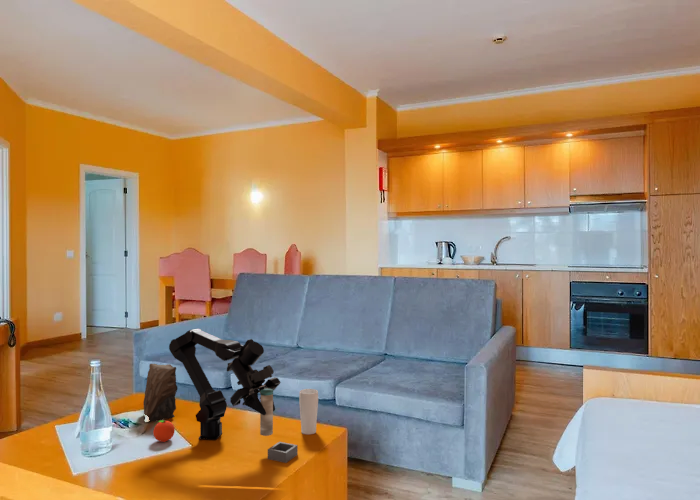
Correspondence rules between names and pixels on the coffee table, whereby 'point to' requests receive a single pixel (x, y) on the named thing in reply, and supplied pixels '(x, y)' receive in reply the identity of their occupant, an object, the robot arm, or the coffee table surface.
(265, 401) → the ivory peg
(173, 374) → the brown tree stump
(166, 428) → the tomato
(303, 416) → the drinking glass
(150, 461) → the coffee table surface
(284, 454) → the charcoal holder block
